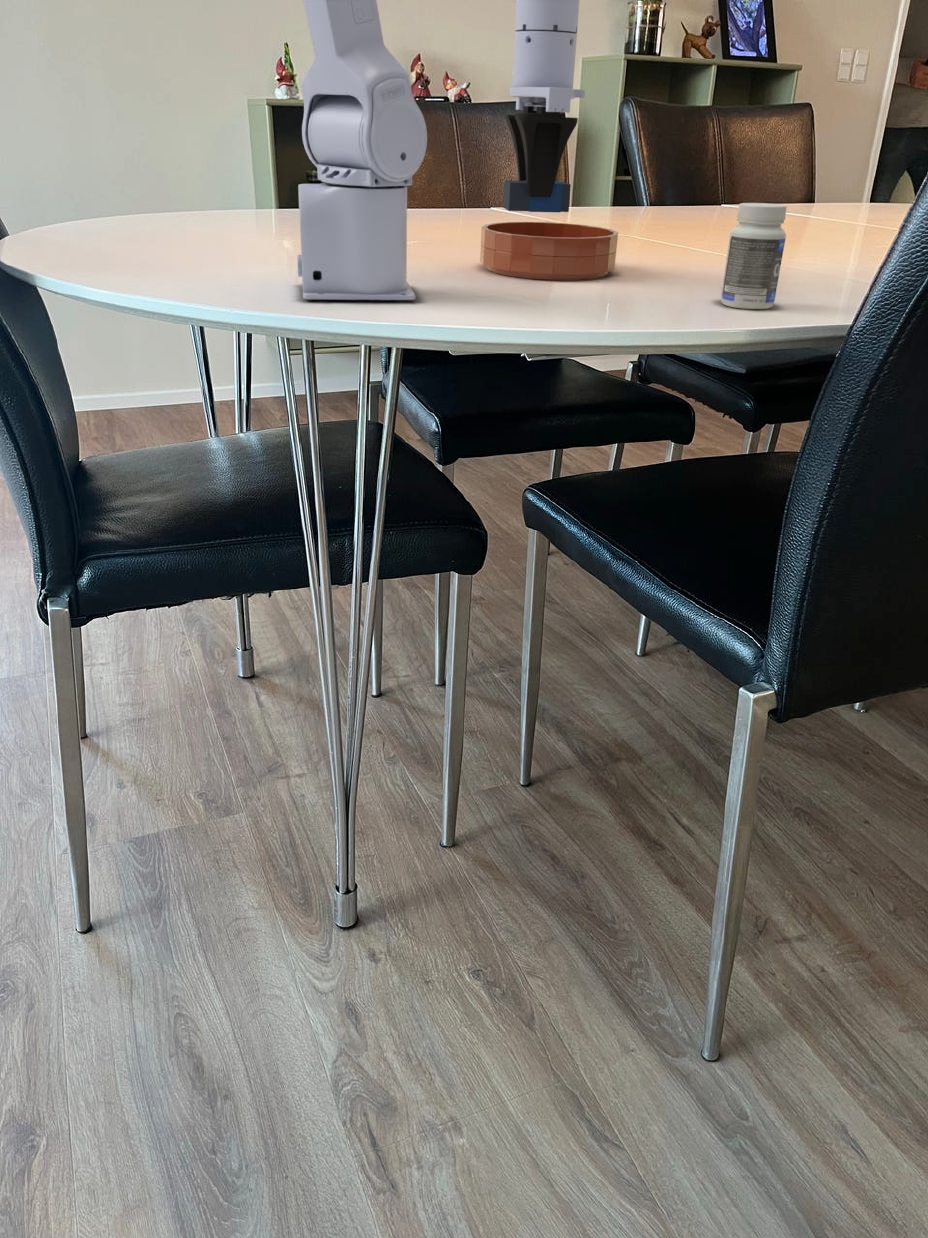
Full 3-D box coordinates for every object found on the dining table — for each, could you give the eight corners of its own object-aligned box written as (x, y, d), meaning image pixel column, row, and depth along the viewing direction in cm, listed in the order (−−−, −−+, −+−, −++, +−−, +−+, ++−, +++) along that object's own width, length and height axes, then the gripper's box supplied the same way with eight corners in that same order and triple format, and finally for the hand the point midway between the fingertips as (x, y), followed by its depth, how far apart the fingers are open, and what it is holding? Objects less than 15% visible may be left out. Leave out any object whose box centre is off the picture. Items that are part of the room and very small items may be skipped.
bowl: (493, 280, 94) (495, 236, 92) (470, 259, 106) (472, 220, 104) (631, 281, 96) (635, 239, 94) (593, 261, 108) (596, 222, 106)
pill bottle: (779, 311, 84) (798, 207, 80) (726, 308, 84) (742, 205, 80) (765, 301, 89) (783, 202, 85) (714, 299, 89) (729, 200, 85)
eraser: (508, 211, 93) (510, 182, 92) (502, 208, 96) (504, 179, 95) (568, 212, 94) (571, 183, 93) (561, 209, 97) (563, 180, 95)
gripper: (610, 30, 82) (594, 202, 89) (568, 38, 95) (558, 189, 101) (529, 26, 81) (519, 201, 87) (498, 35, 94) (492, 187, 100)
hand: (535, 194), depth 94 cm, fingers closed on eraser, 3 cm apart
